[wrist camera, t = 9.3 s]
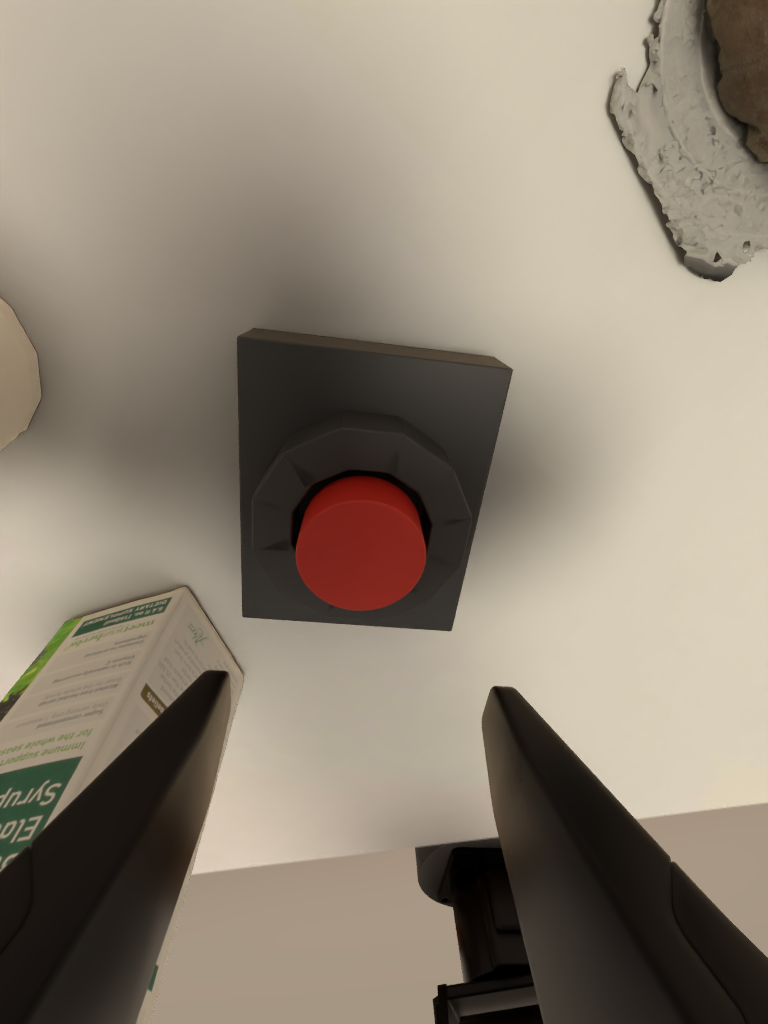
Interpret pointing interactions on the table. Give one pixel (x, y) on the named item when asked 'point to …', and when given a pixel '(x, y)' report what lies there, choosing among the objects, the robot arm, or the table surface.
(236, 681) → the syrup box
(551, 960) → the robot arm
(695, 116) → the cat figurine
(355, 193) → the table surface
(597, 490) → the table surface
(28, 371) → the foam cup
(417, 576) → the button
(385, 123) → the table surface
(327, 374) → the block
